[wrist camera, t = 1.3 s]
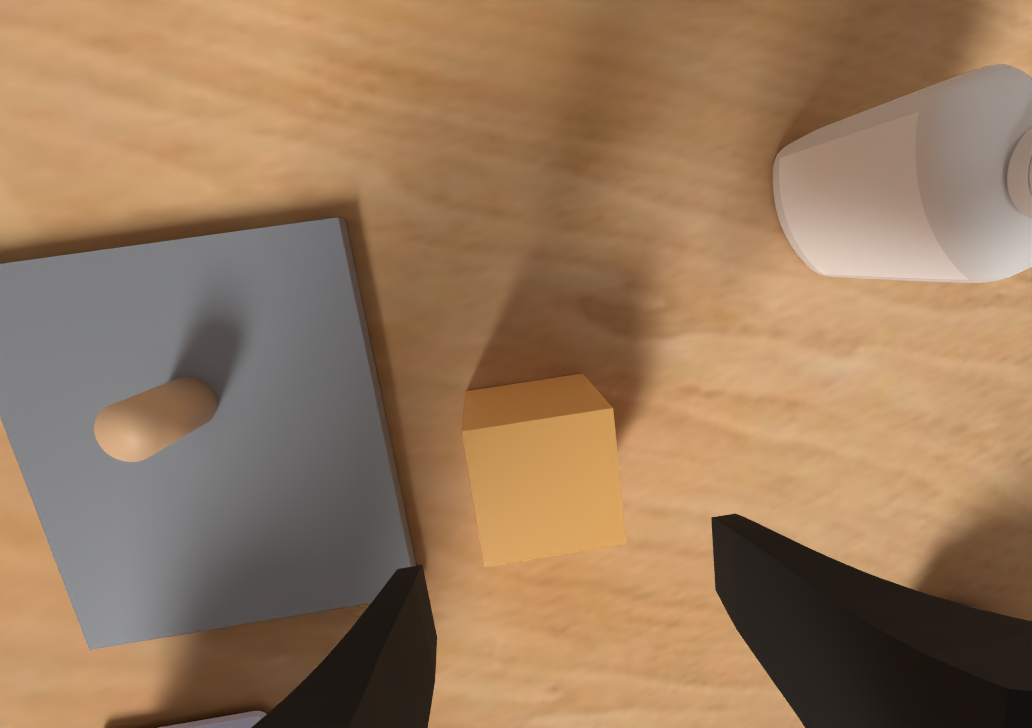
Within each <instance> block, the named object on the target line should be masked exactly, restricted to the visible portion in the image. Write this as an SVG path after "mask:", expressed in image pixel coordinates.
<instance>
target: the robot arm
mask: <svg viewBox="0 0 1032 728" xmlns="http://www.w3.org/2000/svg"><path fill="white" fill-rule="evenodd" d="M711 519H712V536H713V553H714V570H715V588H716V591H717V593H718V595H719V597H720V599H721V601H722V603H723V605H724V607H725V609H726V611H727V613H728V614H729V616H730V618H731V620H732V622H733V623H734V625H735V627H736V629H737V630H738V632H739V633H740V635H741V636H742V638H743V639H744V641H745V642H746V643H747V645H748V646H749V648H750V649H751V651H752V652H753V653H754V655H755V656H756V658H757V659H758V661H759V662H760V663H761V665H762V666H763V668H764V669H765V671H766V672H767V673H768V675H769V676H770V678H771V679H772V680H773V682H774V683H775V685H776V686H777V688H778V689H779V690H780V692H781V693H782V695H783V696H784V697H785V699H786V700H787V702H788V703H789V705H790V706H791V707H792V709H793V710H794V712H795V713H796V714H797V716H798V717H799V719H800V720H801V722H802V723H803V725H804V726H805V728H1032V621H1027V620H1023V619H1018V618H1013V617H1009V616H1005V615H1001V614H997V613H993V612H989V611H985V610H981V609H977V608H973V607H970V606H966V605H963V604H959V603H955V602H952V601H948V600H945V599H941V598H938V597H935V596H931V595H928V594H925V593H922V592H919V591H916V590H913V589H910V588H907V587H904V586H901V585H898V584H895V583H893V582H890V581H887V580H884V579H881V578H879V577H876V576H873V575H871V574H868V573H865V572H863V571H861V570H858V569H856V568H853V567H851V566H849V565H846V564H844V563H841V562H839V561H837V560H834V559H832V558H830V557H827V556H825V555H823V554H821V553H819V552H816V551H814V550H812V549H810V548H808V547H806V546H803V545H801V544H799V543H797V542H795V541H793V540H791V539H789V538H787V537H785V536H783V535H781V534H779V533H776V532H774V531H772V530H770V529H768V528H766V527H764V526H762V525H760V524H758V523H756V522H754V521H751V520H749V519H747V518H745V517H743V516H740V515H738V514H730V515H724V516H718V517H712V518H711ZM436 647H437V635H436V630H435V625H434V620H433V615H432V610H431V605H430V600H429V595H428V591H427V586H426V581H425V576H424V571H423V566H422V565H418V566H412V567H406V568H400V569H397V570H396V571H395V573H394V574H393V575H392V576H391V578H390V579H389V580H388V582H387V583H386V584H385V586H384V587H383V588H382V590H381V591H380V592H379V594H378V595H377V596H376V597H375V599H374V600H373V601H372V603H371V604H370V605H369V607H368V608H367V609H366V611H365V612H364V613H363V614H362V616H361V617H360V618H359V619H358V621H357V622H356V623H355V624H354V626H353V627H352V628H351V629H350V631H349V632H348V633H347V634H346V635H345V636H344V637H343V639H342V640H341V641H340V642H339V643H338V644H337V646H336V647H335V648H334V649H333V650H332V651H331V652H330V654H329V655H328V656H327V657H326V658H325V659H324V660H323V661H322V662H321V664H320V665H319V666H318V667H317V668H316V669H315V670H314V671H313V672H312V673H311V674H310V675H309V676H308V677H307V678H306V679H305V680H304V681H303V682H302V683H301V684H300V685H299V686H298V687H297V688H296V689H294V690H293V691H292V692H291V693H290V694H289V695H288V696H287V697H286V698H285V699H284V700H283V701H282V702H281V703H279V704H278V705H277V706H276V707H275V708H274V709H272V710H271V711H270V712H269V713H268V714H266V713H264V712H262V711H251V712H246V713H240V714H234V715H228V716H223V717H217V718H211V719H205V720H199V721H194V722H188V723H182V724H176V725H170V726H165V727H159V728H428V722H429V715H430V709H431V703H432V696H433V690H434V683H435V670H436Z"/></svg>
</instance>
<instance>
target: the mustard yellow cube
mask: <svg viewBox="0 0 1032 728" xmlns="http://www.w3.org/2000/svg"><path fill="white" fill-rule="evenodd" d="M461 432H462V438H463V444H464V450H465V456H466V461H467V467H468V473H469V479H470V485H471V491H472V496H473V502H474V508H475V514H476V520H477V525H478V531H479V537H480V543H481V549H482V554H483V560H484V566H485V567H490V566H496V565H502V564H508V563H515V562H521V561H527V560H533V559H539V558H545V557H551V556H557V555H563V554H569V553H575V552H581V551H587V550H593V549H599V548H605V547H611V546H617V545H623V544H627V541H626V531H625V521H624V511H623V501H622V491H621V481H620V471H619V461H618V451H617V441H616V431H615V422H614V412H613V407H612V406H611V405H610V404H609V403H608V402H607V400H606V399H605V398H604V397H603V396H602V395H601V394H600V392H599V391H598V390H597V389H596V388H595V387H594V386H593V384H592V383H591V382H590V381H589V380H588V379H587V378H586V376H585V375H584V374H583V373H582V374H575V375H569V376H562V377H556V378H549V379H543V380H536V381H529V382H523V383H516V384H510V385H503V386H496V387H490V388H483V389H477V390H470V391H466V396H465V405H464V413H463V422H462V430H461Z"/></svg>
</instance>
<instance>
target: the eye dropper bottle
mask: <svg viewBox="0 0 1032 728" xmlns="http://www.w3.org/2000/svg"><path fill="white" fill-rule="evenodd" d="M773 194H774V201H775V207H776V212H777V215H778V219H779V222H780V225H781V227H782V229H783V232H784V234H785V236H786V238H787V240H788V241H789V243H790V245H791V246H792V248H793V249H794V251H795V252H796V253H797V255H798V256H799V257H800V258H801V259H802V261H803V262H804V263H805V264H806V265H807V266H808V267H809V268H811V269H812V270H813V271H814V272H816V273H818V274H821V275H823V276H829V277H847V278H867V279H887V280H909V281H931V282H962V283H982V282H992V281H998V280H1002V279H1006V278H1008V277H1011V276H1013V275H1015V274H1018V273H1020V272H1022V271H1024V270H1026V269H1028V268H1030V267H1032V78H1031V77H1030V76H1029V75H1027V74H1026V73H1025V72H1023V71H1021V70H1019V69H1017V68H1015V67H1012V66H1009V65H1006V64H997V65H991V66H986V67H982V68H978V69H975V70H972V71H969V72H966V73H964V74H961V75H958V76H955V77H953V78H950V79H947V80H944V81H942V82H939V83H936V84H934V85H931V86H928V87H926V88H923V89H920V90H918V91H915V92H913V93H910V94H907V95H905V96H902V97H899V98H897V99H894V100H891V101H889V102H886V103H884V104H881V105H878V106H876V107H873V108H871V109H868V110H865V111H863V112H860V113H858V114H855V115H852V116H850V117H847V118H845V119H842V120H839V121H837V122H834V123H832V124H829V125H827V126H824V127H821V128H819V129H817V130H815V131H813V132H811V133H809V134H807V135H805V136H803V137H801V138H799V139H797V140H795V141H794V142H792V143H790V144H788V145H787V146H785V147H784V148H783V149H782V150H781V151H780V152H779V153H778V154H777V156H776V158H775V161H774V164H773Z"/></svg>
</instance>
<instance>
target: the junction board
mask: <svg viewBox="0 0 1032 728" xmlns="http://www.w3.org/2000/svg"><path fill="white" fill-rule="evenodd" d="M0 417H1V420H2V423H3V425H4V428H5V430H6V433H7V436H8V438H9V441H10V444H11V446H12V449H13V451H14V454H15V457H16V459H17V462H18V464H19V467H20V470H21V472H22V475H23V478H24V480H25V483H26V485H27V488H28V491H29V493H30V496H31V498H32V501H33V504H34V506H35V509H36V511H37V514H38V517H39V519H40V522H41V525H42V527H43V530H44V532H45V535H46V538H47V540H48V543H49V545H50V548H51V551H52V553H53V556H54V559H55V561H56V564H57V566H58V569H59V572H60V574H61V577H62V579H63V582H64V585H65V587H66V590H67V593H68V595H69V598H70V600H71V603H72V606H73V608H74V611H75V613H76V616H77V619H78V621H79V624H80V626H81V629H82V632H83V634H84V637H85V640H86V642H87V645H88V647H89V650H92V649H98V648H104V647H110V646H116V645H122V644H128V643H134V642H140V641H146V640H152V639H158V638H164V637H170V636H176V635H182V634H188V633H194V632H200V631H206V630H212V629H218V628H224V627H230V626H236V625H242V624H248V623H254V622H260V621H266V620H272V619H278V618H284V617H290V616H296V615H302V614H308V613H314V612H320V611H326V610H332V609H338V608H344V607H350V606H356V605H362V604H368V603H372V601H373V600H374V599H375V597H376V596H377V595H378V594H379V592H380V591H381V590H382V588H383V587H384V586H385V584H386V583H387V582H388V580H389V579H390V578H391V576H392V575H393V574H394V573H395V571H396V570H397V569H400V568H406V567H412V566H416V561H415V556H414V551H413V546H412V541H411V536H410V532H409V527H408V522H407V517H406V512H405V507H404V502H403V498H402V493H401V488H400V483H399V478H398V473H397V468H396V463H395V459H394V454H393V449H392V444H391V439H390V434H389V429H388V425H387V420H386V415H385V410H384V405H383V400H382V395H381V390H380V386H379V381H378V376H377V371H376V366H375V361H374V356H373V352H372V347H371V342H370V337H369V332H368V327H367V322H366V318H365V313H364V308H363V303H362V298H361V293H360V288H359V283H358V279H357V274H356V269H355V264H354V259H353V254H352V249H351V245H350V240H349V235H348V230H347V225H346V220H345V219H342V218H339V217H336V218H329V219H322V220H315V221H307V222H300V223H293V224H286V225H278V226H271V227H264V228H257V229H249V230H242V231H235V232H228V233H220V234H213V235H206V236H199V237H191V238H184V239H177V240H170V241H162V242H155V243H148V244H141V245H133V246H126V247H119V248H112V249H104V250H97V251H90V252H83V253H75V254H68V255H61V256H54V257H46V258H39V259H32V260H25V261H17V262H10V263H3V264H0Z"/></svg>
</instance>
